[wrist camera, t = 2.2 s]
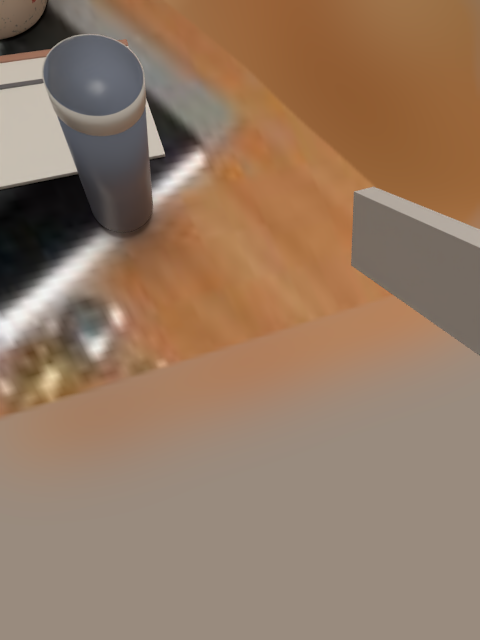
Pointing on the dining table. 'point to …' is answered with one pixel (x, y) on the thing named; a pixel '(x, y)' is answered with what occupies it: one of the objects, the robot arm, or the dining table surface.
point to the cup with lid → (104, 125)
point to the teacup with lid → (19, 16)
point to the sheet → (38, 125)
